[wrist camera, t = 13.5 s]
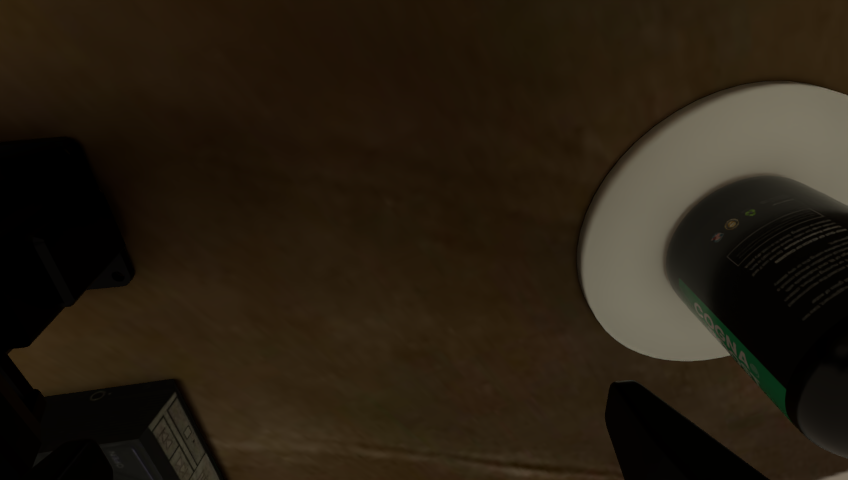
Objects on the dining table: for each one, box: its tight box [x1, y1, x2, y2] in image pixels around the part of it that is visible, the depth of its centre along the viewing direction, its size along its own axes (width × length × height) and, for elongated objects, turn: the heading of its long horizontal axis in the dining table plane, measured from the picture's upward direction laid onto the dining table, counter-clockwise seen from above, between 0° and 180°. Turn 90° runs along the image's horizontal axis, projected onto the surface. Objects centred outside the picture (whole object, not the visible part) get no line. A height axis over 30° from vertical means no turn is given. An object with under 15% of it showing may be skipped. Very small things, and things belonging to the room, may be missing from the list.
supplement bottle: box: [666, 176, 848, 458], centre depth 17 cm, size 7×7×12 cm
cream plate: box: [577, 81, 848, 361], centre depth 23 cm, size 14×14×1 cm
